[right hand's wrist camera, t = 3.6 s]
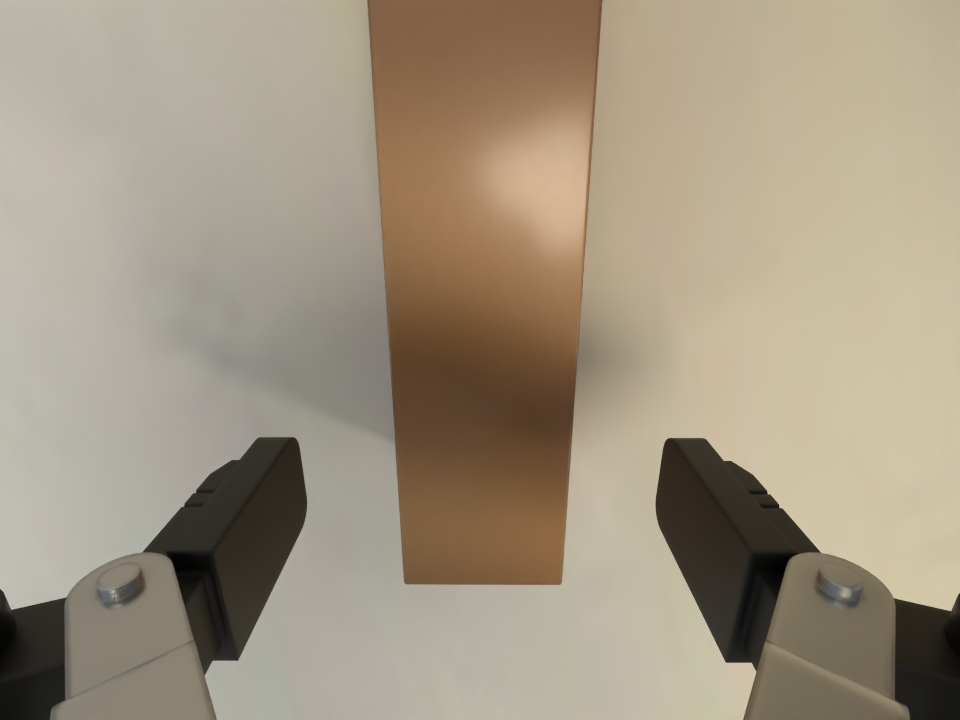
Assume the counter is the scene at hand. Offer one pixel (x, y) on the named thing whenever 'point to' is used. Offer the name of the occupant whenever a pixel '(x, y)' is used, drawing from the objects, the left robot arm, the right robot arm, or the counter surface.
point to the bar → (483, 273)
